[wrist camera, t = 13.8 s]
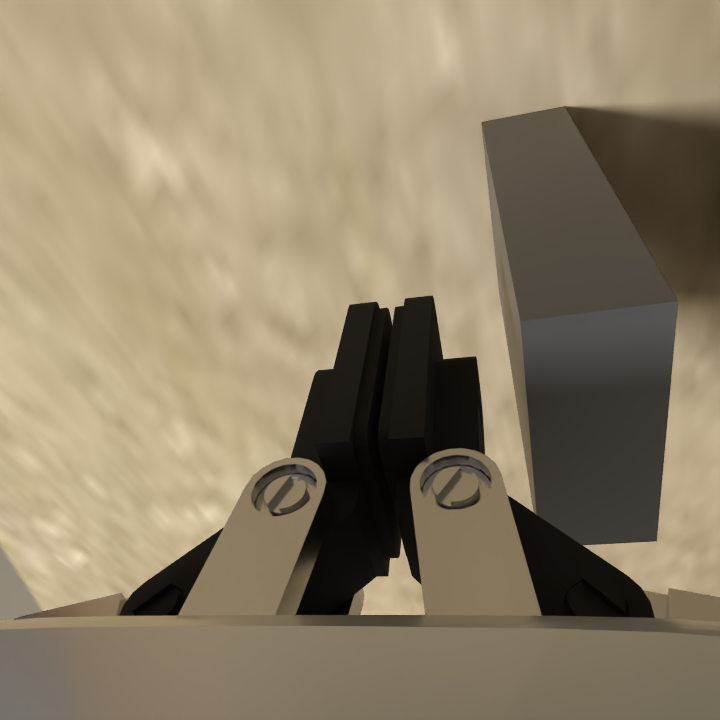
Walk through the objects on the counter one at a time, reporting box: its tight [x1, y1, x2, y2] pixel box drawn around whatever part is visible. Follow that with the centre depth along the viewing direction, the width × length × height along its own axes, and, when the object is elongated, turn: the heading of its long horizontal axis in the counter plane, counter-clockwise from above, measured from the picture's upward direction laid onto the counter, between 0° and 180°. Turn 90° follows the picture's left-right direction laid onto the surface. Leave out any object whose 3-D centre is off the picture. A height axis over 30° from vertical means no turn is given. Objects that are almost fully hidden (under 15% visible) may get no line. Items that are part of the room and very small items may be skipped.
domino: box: [482, 106, 678, 545], centre depth 13 cm, size 2×5×9 cm, turn 13°
